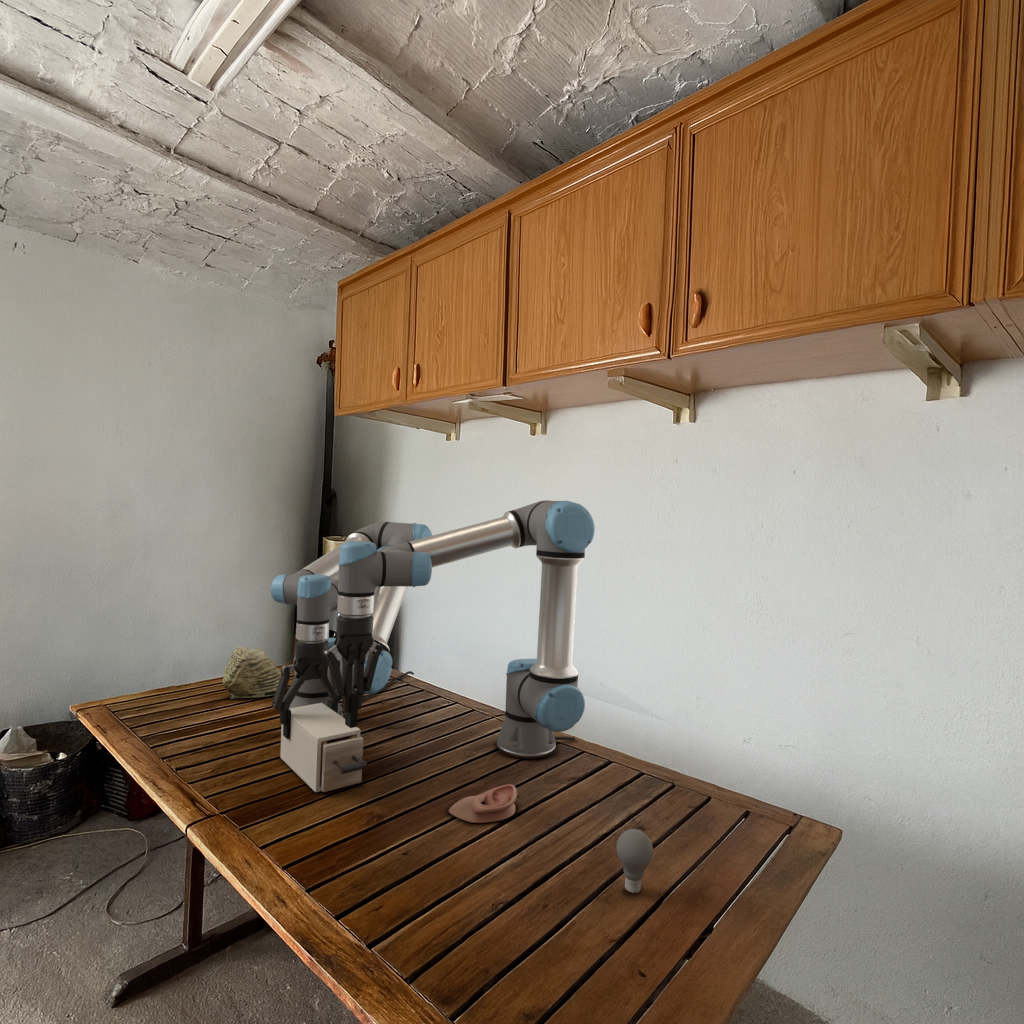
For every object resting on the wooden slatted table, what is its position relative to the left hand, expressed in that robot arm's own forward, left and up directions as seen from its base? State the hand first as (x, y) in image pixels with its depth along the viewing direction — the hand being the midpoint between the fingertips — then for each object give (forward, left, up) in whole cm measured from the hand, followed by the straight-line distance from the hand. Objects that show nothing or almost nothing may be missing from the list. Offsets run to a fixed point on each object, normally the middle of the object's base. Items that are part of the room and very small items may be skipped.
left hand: (308, 732), depth 152 cm
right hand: (+5, +22, +9) cm, 24 cm away
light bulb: (-7, +83, -7) cm, 84 cm away
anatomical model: (-10, +47, -7) cm, 49 cm away
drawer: (+3, +12, -6) cm, 13 cm away
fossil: (-16, -54, -7) cm, 56 cm away
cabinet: (+1, +6, -7) cm, 9 cm away
